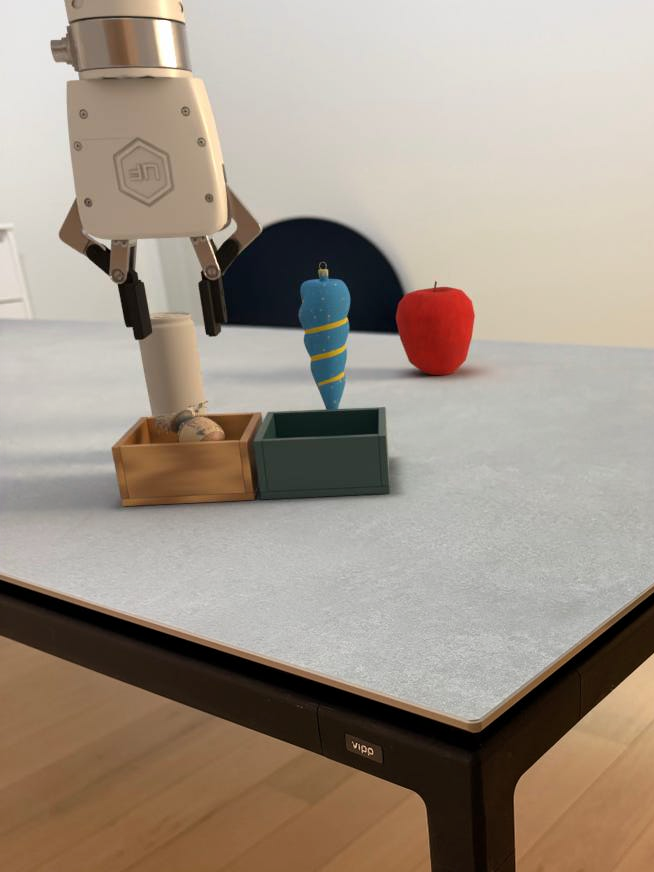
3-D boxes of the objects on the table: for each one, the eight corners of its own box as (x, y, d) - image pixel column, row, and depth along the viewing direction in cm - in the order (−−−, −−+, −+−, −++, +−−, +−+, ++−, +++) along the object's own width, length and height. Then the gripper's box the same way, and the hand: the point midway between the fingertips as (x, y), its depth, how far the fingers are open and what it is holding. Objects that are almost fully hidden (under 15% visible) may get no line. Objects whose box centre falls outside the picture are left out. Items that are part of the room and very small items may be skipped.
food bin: (122, 506, 73) (110, 447, 71) (150, 470, 82) (141, 416, 80) (254, 500, 74) (246, 441, 72) (267, 465, 83) (261, 412, 81)
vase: (227, 463, 81) (262, 468, 76) (169, 483, 78) (201, 489, 73) (208, 399, 78) (243, 401, 74) (147, 417, 75) (179, 420, 71)
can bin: (260, 499, 74) (253, 441, 72) (273, 464, 83) (267, 411, 81) (389, 493, 75) (386, 435, 72) (388, 459, 83) (385, 406, 81)
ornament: (321, 410, 102) (307, 259, 95) (366, 412, 100) (355, 259, 94) (301, 421, 97) (284, 264, 90) (348, 423, 96) (335, 264, 89)
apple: (429, 363, 125) (425, 275, 121) (491, 369, 121) (489, 278, 116) (383, 376, 118) (377, 283, 113) (447, 383, 113) (443, 286, 108)
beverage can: (173, 462, 84) (149, 320, 79) (149, 452, 87) (124, 315, 82) (222, 452, 87) (202, 314, 82) (197, 442, 90) (176, 310, 85)
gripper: (-16, 54, 61) (50, 349, 69) (252, 48, 62) (286, 338, 70) (23, 66, 67) (79, 333, 76) (265, 60, 69) (294, 323, 77)
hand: (178, 333), depth 73 cm, fingers open, 4 cm apart
